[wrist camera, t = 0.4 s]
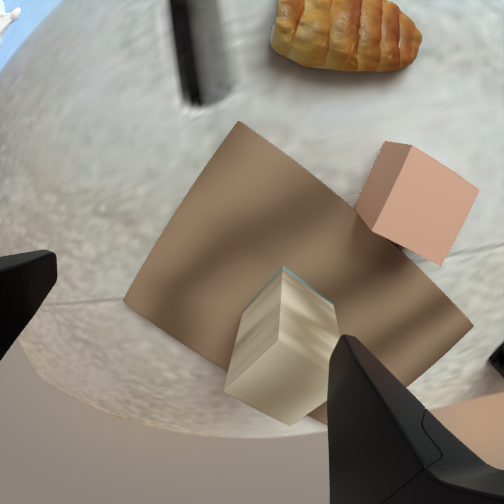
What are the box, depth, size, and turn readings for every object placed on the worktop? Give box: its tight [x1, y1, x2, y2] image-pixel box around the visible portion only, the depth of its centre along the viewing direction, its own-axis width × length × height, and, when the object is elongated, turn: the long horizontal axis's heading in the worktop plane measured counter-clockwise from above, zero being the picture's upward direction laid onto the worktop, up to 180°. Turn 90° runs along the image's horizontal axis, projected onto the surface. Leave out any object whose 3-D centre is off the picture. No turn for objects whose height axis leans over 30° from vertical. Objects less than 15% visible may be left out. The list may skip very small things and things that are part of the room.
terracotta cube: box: [354, 141, 479, 266], centre depth 17 cm, size 5×5×5 cm
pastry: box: [270, 0, 422, 72], centre depth 14 cm, size 9×7×4 cm
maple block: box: [223, 266, 340, 426], centre depth 18 cm, size 4×4×8 cm
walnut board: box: [123, 121, 473, 425], centre depth 23 cm, size 24×16×1 cm, turn 54°
